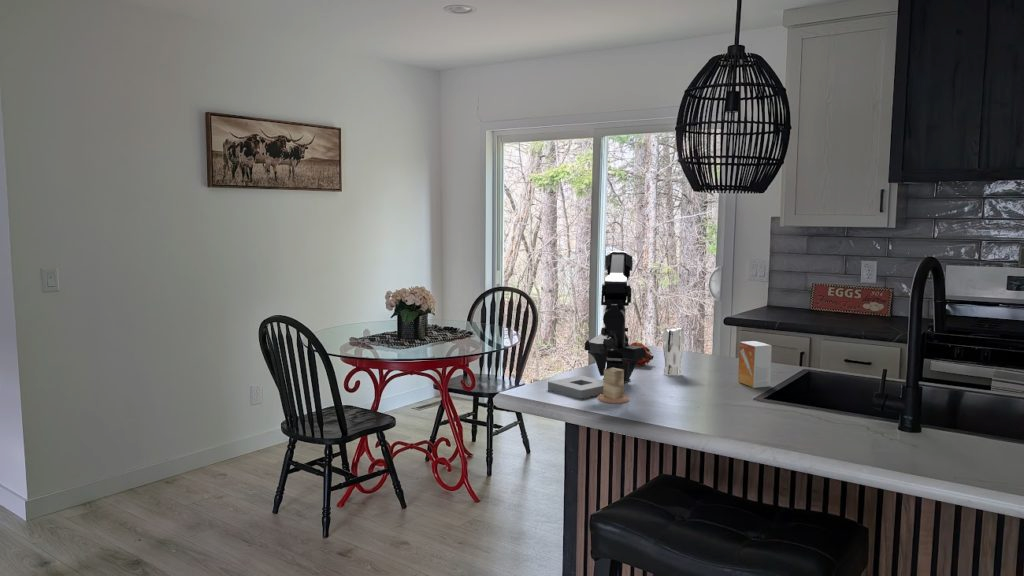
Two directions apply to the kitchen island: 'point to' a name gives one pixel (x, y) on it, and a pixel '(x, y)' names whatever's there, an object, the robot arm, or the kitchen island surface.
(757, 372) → the small box
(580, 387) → the pocket board
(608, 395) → the beech block
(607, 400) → the coaster
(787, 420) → the kitchen island surface
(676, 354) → the beer glass
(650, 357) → the dragon fruit
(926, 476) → the kitchen island surface
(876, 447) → the kitchen island surface
